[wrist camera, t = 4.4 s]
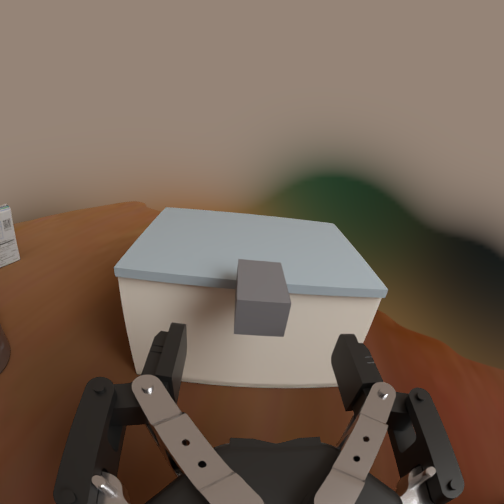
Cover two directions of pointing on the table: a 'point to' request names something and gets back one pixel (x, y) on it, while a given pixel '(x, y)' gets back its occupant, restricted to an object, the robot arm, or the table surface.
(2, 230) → the light bulb box
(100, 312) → the table surface
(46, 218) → the table surface
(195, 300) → the carton
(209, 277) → the lid
